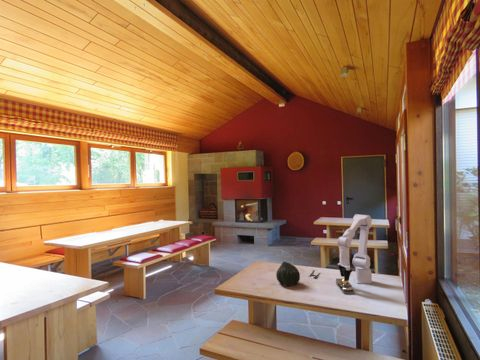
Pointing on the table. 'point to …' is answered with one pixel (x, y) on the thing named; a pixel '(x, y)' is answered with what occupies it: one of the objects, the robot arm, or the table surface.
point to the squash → (287, 274)
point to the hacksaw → (315, 275)
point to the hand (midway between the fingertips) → (344, 278)
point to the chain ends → (345, 290)
